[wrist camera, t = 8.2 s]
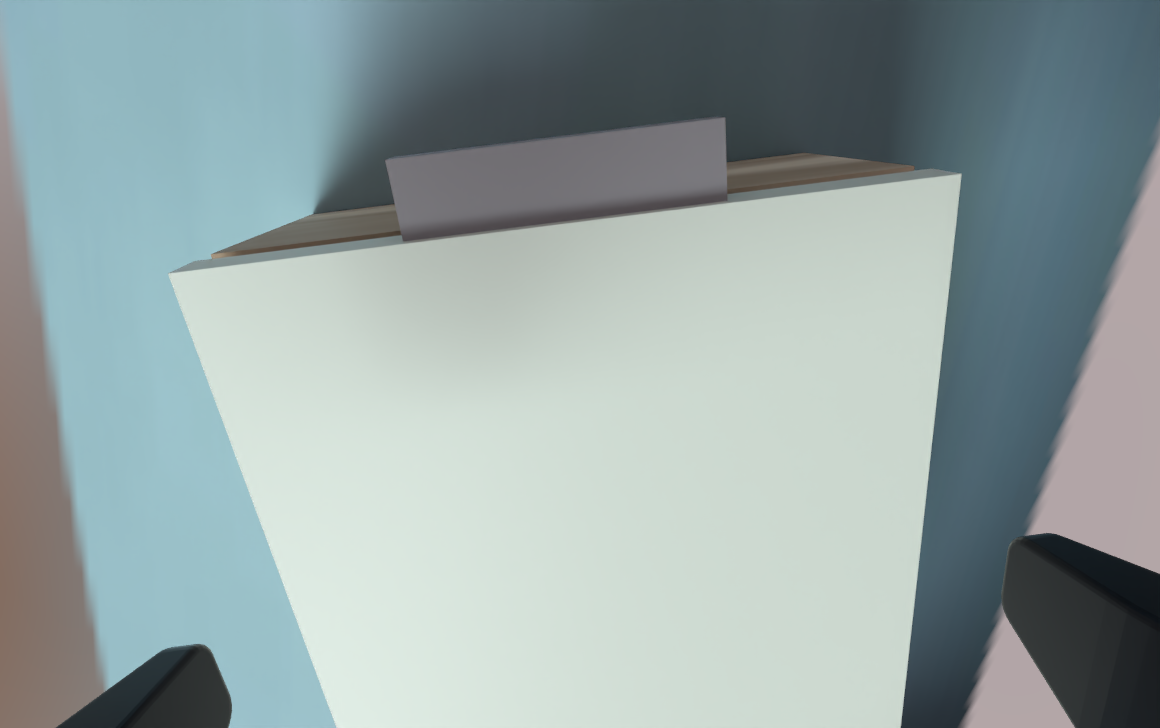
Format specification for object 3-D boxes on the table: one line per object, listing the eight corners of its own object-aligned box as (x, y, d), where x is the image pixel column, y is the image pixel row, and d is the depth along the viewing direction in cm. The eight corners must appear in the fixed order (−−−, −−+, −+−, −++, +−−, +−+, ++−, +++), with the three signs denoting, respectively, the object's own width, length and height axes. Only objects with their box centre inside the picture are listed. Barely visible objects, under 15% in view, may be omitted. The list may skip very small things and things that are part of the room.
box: (800, 609, 21) (875, 753, 16) (427, 657, 20) (392, 816, 16) (804, 152, 16) (914, 165, 11) (311, 214, 16) (210, 254, 11)
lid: (874, 784, 16) (895, 826, 15) (400, 846, 16) (392, 891, 15) (939, 88, 10) (979, 87, 9) (167, 185, 10) (129, 194, 9)
